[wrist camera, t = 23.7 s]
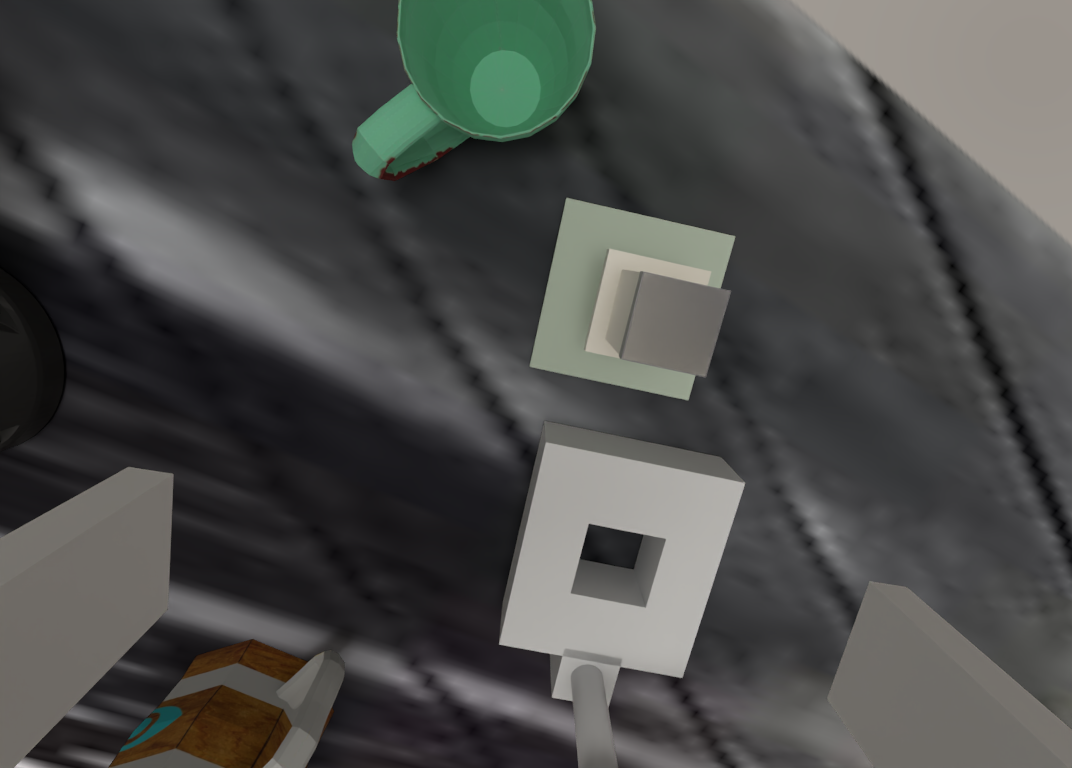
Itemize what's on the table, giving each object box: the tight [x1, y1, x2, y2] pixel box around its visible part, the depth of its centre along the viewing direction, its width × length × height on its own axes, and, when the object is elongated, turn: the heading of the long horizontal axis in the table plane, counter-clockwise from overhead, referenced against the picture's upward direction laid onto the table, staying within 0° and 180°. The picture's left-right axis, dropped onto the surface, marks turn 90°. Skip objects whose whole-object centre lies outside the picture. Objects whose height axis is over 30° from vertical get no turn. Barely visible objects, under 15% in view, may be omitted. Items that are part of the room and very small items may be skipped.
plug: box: [584, 249, 731, 377], centre depth 33 cm, size 6×6×13 cm
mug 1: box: [108, 639, 345, 768], centre depth 40 cm, size 20×14×15 cm
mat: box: [530, 198, 735, 400], centre depth 40 cm, size 12×12×1 cm
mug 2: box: [352, 0, 596, 181], centre depth 32 cm, size 15×10×10 cm
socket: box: [499, 421, 745, 768], centre depth 38 cm, size 14×20×14 cm
